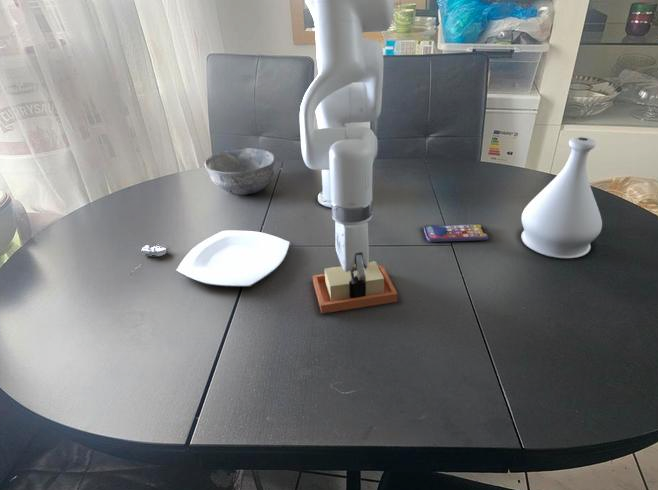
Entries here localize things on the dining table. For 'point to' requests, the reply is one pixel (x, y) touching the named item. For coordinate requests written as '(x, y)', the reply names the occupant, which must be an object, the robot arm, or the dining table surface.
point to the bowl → (241, 170)
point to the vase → (564, 209)
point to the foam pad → (340, 280)
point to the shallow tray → (352, 303)
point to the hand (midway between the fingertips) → (353, 285)
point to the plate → (234, 258)
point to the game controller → (153, 250)
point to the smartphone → (455, 232)
